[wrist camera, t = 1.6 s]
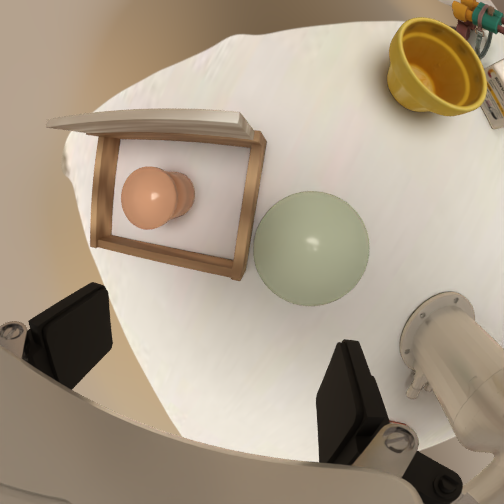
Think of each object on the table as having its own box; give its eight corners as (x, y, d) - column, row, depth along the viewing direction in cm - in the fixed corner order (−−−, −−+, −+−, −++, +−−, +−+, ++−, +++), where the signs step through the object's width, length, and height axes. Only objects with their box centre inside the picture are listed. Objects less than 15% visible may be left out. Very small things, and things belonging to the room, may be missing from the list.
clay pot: (194, 224, 32) (170, 234, 26) (148, 216, 33) (119, 224, 26) (201, 171, 30) (178, 169, 24) (154, 166, 31) (124, 164, 25)
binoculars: (469, 29, 20) (464, -17, 12) (516, 56, 15) (521, 11, 7) (452, 53, 22) (447, 1, 14) (504, 84, 18) (512, 33, 10)
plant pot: (415, 144, 26) (458, 132, 16) (354, 77, 25) (376, 39, 16) (457, 101, 23) (500, 82, 14) (403, 40, 22) (431, 4, 13)
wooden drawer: (245, 271, 32) (216, 324, 20) (105, 241, 34) (38, 267, 22) (266, 141, 28) (247, 111, 16) (115, 131, 30) (44, 119, 18)
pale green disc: (350, 310, 32) (352, 314, 31) (246, 291, 33) (245, 294, 32) (377, 205, 28) (380, 205, 27) (264, 181, 30) (263, 181, 29)
